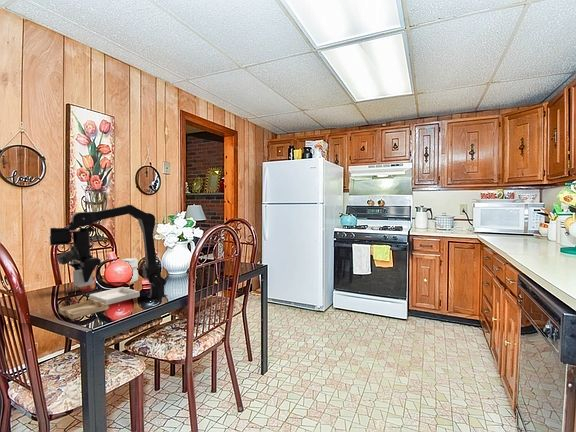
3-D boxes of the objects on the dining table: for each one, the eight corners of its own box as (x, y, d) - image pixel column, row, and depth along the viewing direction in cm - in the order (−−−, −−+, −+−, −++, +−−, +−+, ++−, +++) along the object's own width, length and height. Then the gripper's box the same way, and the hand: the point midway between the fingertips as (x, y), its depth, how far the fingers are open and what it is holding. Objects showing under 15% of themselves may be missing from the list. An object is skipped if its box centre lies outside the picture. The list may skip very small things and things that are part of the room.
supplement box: (129, 283, 173) (129, 260, 172) (117, 282, 175) (117, 260, 174) (138, 280, 180) (138, 258, 180) (127, 279, 182) (126, 257, 181)
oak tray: (108, 309, 131) (108, 305, 131) (73, 319, 121) (72, 314, 120) (93, 304, 139) (93, 299, 139) (58, 312, 128) (58, 308, 128)
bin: (139, 297, 149) (139, 291, 149) (106, 306, 136) (105, 300, 136) (122, 291, 157) (122, 286, 157) (89, 299, 145) (89, 294, 145)
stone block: (92, 284, 130) (92, 269, 129) (79, 287, 126) (78, 272, 125) (87, 282, 133) (86, 268, 132) (73, 285, 129) (73, 270, 128)
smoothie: (92, 287, 166) (91, 249, 165) (100, 289, 161) (99, 250, 160) (74, 290, 159) (73, 251, 158) (82, 293, 154) (80, 253, 153)
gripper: (48, 243, 127) (50, 282, 128) (69, 247, 116) (70, 289, 117) (79, 240, 136) (81, 276, 137) (100, 244, 126) (102, 282, 126)
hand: (83, 281), depth 129 cm, fingers closed on stone block, 5 cm apart
